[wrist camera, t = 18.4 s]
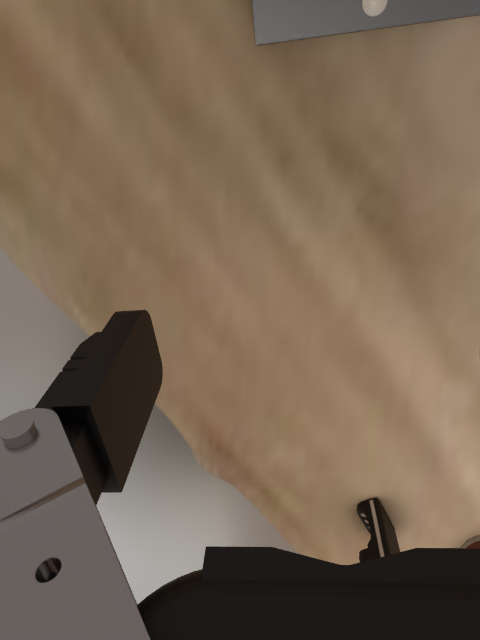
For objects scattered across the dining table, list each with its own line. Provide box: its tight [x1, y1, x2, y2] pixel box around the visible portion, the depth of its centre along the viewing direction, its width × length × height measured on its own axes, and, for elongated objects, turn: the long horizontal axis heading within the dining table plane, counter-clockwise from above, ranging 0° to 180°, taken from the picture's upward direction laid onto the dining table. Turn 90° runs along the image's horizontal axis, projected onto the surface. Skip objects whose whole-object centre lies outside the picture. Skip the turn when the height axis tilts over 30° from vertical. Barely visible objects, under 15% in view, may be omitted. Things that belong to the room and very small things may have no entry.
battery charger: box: [357, 500, 400, 562], centre depth 52 cm, size 7×4×11 cm, turn 28°
